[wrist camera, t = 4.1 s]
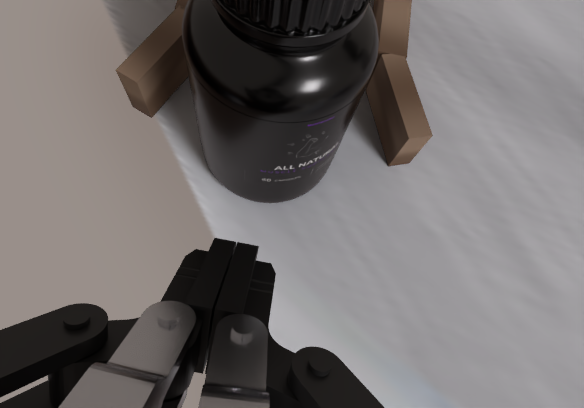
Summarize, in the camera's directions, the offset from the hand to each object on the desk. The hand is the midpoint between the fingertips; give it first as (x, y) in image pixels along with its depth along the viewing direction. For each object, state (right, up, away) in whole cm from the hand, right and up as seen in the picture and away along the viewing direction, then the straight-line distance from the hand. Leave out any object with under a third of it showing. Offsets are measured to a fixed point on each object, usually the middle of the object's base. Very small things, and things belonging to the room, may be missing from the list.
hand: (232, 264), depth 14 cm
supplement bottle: (+1, +5, +8) cm, 10 cm away
